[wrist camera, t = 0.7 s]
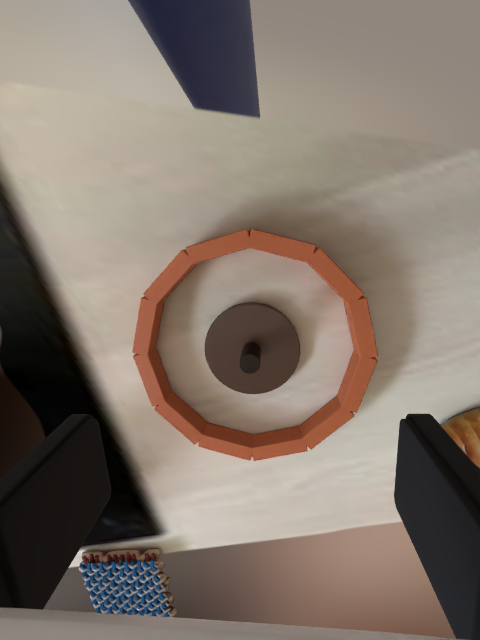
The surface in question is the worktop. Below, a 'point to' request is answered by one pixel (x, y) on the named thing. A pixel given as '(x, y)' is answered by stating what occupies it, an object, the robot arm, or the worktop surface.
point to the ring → (235, 440)
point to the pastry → (466, 433)
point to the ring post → (252, 348)
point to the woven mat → (127, 583)
